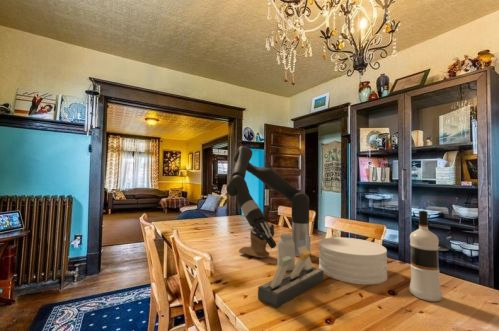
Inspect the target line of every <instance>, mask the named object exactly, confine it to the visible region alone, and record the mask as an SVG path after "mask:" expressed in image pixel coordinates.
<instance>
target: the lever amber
mask: <svg viewBox="0 0 499 331" xmlns="http://www.w3.org/2000/svg"><path fill="white" fill-rule="evenodd" d="M311 254H312V252H311V250H310V251H309V250H307V251H305V252H302V253H301V255H300V257H298V260H297V262H295V263H296V264H295V267H294V269H293V270H291V272H292V273H291V275H290V278H289V279H290V280H291V279H293V278H295V277H297V276H299V274H300V272H301V270H302V268H303V267H304V264H305V263H306V261H307V259H308V258H309V257H310V256H311Z"/></svg>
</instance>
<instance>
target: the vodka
mask: <svg viewBox="0 0 499 331" xmlns="http://www.w3.org/2000/svg"><path fill="white" fill-rule="evenodd" d="M428 216H429V215H428V211H426V210H419V211H418V228H417V229H416V230H414V231H412V232H411V233H410V235H409V242H410V243H409V245H410V265H409V266H410V273H411V274H410V283H409V287H408V288H409V292H410V294H412V296H414V297H416V298H417V299H420V300H423V301H427V302H434V303H435V302H440V301H441V300H442V299H443V293H442V290H441V284H440V269H439V266H440V265H439V249H440V247H439V242H440V240H439V237H438V236H437V234H435V233H433V231H430V230H429V227H428V226H429V218H428Z"/></svg>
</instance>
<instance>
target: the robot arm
mask: <svg viewBox="0 0 499 331" xmlns="http://www.w3.org/2000/svg"><path fill="white" fill-rule="evenodd" d="M252 157H253V150H252V149H251V148H250V147H248V146H246V145H241V146H239V147H238V149H237V151H236V153H235V155H234V156H233V161H234V163H235V165H234V166H233V169H232V172H231V176H230V178H229V180H228V182H227V184H226V186H225V190H226V192H227V194H228V195H229V196H231V197H236V202H237V204H238V207H239V208H240V209H241V212H242V214H243V215H244V218H245V219H246V220H247V222H248V224H249V225H250V227H251V228H252V227H253V230H252V231H251V230H250V232H251V233H252V234H253V235H254V236H256V237H257V238H259V239H260V240H262V241H263V240H265V241H266V242H267V245H268V247H270V249H275V248H277V242H276V241H275V240H274V238H273V237H274V235H275V226H274V224H269V223H268V221H267V220H266V216H265V214H264V212H263V211H262V210H261V208H260V206H259V204H258V203H257V202H256V201H255V200H254V198H253V197H252V195H251V193H250V190H249V187H248V183H247V181H246V174H247V172H248V173H249V174H251V175H253V176H254V177H255V178H257V179H258V180H259V181H261V182H262V183H263V184H264V185H265V186H267V187H268V188H269V189H272V190H273V191H275V192H277V193H278V194H281V195H282V196H283V197H285V198H286V199H287V200H288V201H290V202H291V235H292V241H293V242H294V243H295V257H297V258H299V257H300V253H299V250H298V248H297V245H296V242H297V241H301V240H304V242H305V246H306V248H307V250H309V251H310V252H311V236H310V198H309V196H308V195H307V194H306V193H305V192H302V191H300V190H299V189H297V188H296V187H294V186H293V185H292V184H290V183H289V182H288V180H286V179H285V178H284V177H283V176H282V175H280V174H279V173H277V172H276V171H275V170H274V169H272V168H270V167H263V166H261V167H260V166H256V165H254V164H253V163H251V162H250V161H251V159H252Z"/></svg>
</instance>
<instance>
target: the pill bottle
mask: <svg viewBox="0 0 499 331" xmlns="http://www.w3.org/2000/svg"><path fill="white" fill-rule="evenodd" d="M276 248H277V255H276V256H277V259H276V260H277V267H278V266H279V262H280V260H281V258H284V257H286V256H290V257H291V258H292V260H291V262H290V264H289V265H288V268H287V270H286V272H289V271H290V272H291V271H293V269H294V267H295V265H296V264H295V263H296V256H295V243H294V242H293V241H292V233H281V234H280V240H278V241H277V247H276Z"/></svg>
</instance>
